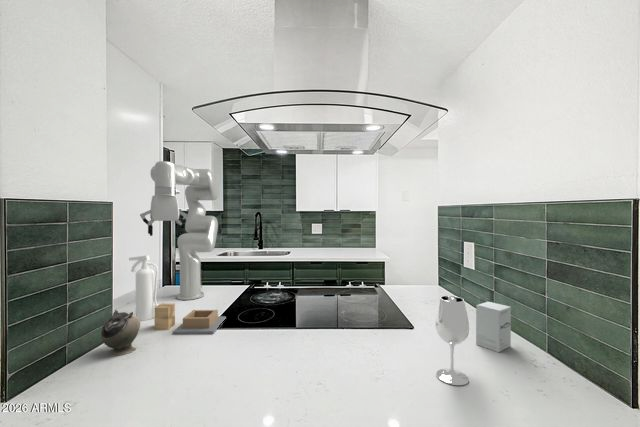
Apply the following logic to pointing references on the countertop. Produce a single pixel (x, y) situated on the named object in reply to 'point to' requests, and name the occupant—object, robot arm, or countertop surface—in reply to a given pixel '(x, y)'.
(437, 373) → the wineglass
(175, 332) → the base board
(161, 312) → the oak block
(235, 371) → the countertop surface
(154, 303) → the fire extinguisher
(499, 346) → the supplement box
